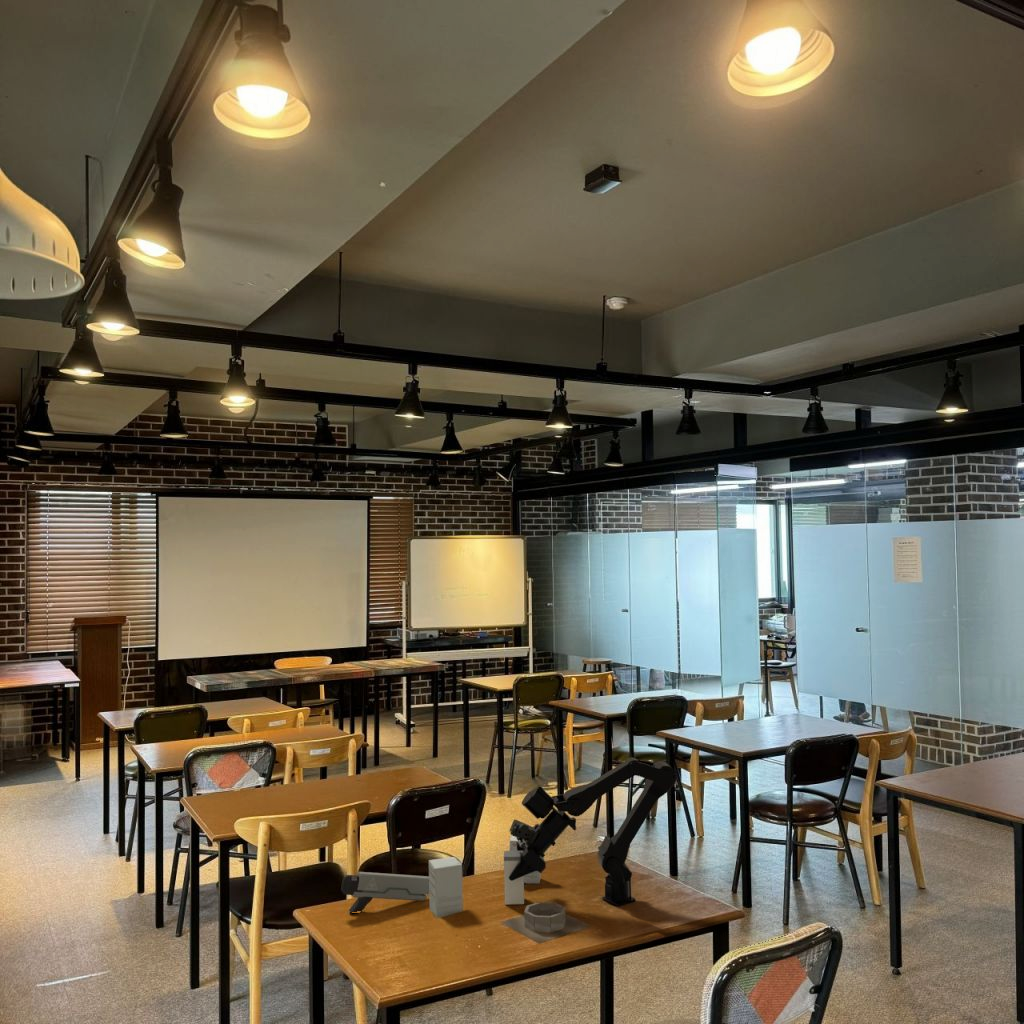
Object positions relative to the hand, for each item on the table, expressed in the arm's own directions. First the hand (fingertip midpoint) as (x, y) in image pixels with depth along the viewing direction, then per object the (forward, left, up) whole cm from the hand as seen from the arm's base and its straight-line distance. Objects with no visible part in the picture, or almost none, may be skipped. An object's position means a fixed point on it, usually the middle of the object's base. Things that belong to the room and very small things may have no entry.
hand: (508, 875), depth 231 cm
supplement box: (+15, -7, -8) cm, 18 cm away
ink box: (-15, -13, -8) cm, 22 cm away
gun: (+25, -20, -8) cm, 33 cm away
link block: (-1, +1, -6) cm, 7 cm away
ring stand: (+2, +18, -8) cm, 19 cm away
